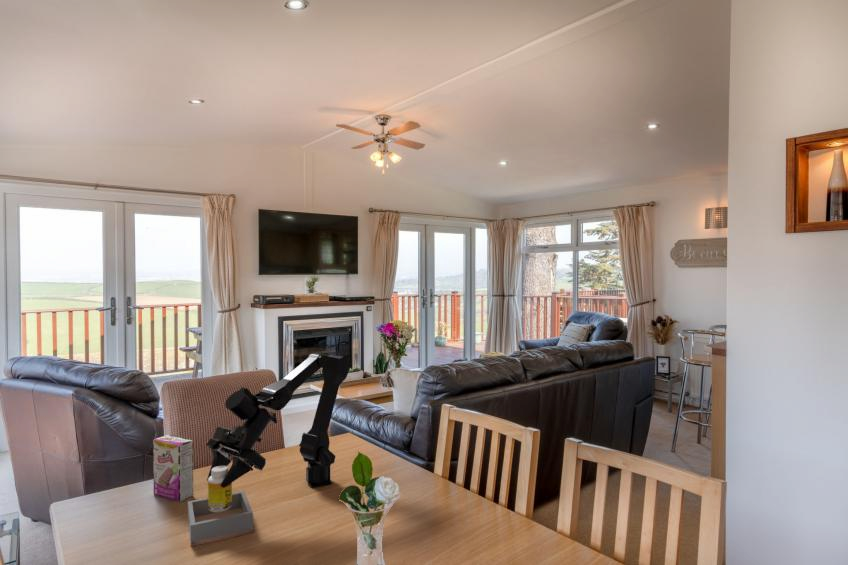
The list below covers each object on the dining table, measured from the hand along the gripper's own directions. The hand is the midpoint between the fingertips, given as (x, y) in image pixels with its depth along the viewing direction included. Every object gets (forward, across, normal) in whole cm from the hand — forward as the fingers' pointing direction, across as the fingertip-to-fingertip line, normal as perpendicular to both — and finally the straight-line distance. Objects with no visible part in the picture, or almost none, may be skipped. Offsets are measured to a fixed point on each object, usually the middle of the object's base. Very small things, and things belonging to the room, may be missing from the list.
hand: (215, 484), depth 127 cm
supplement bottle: (+4, 0, +6) cm, 7 cm away
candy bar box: (+6, -27, +11) cm, 29 cm away
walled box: (+7, 0, +9) cm, 11 cm away
